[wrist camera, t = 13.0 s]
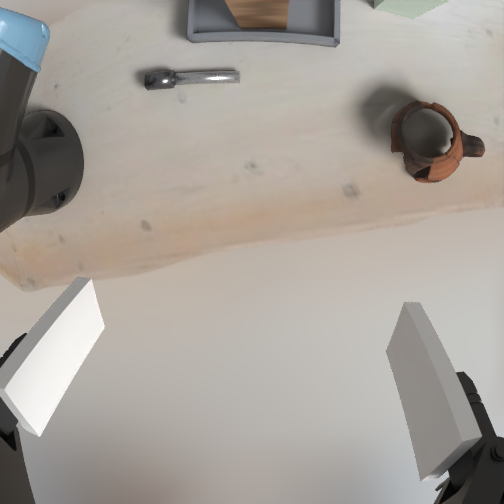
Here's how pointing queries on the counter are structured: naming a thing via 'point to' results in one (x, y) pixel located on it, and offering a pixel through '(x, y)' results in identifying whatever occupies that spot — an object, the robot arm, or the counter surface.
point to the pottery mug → (441, 164)
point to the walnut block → (260, 13)
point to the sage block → (407, 6)
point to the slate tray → (298, 29)
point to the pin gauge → (188, 78)
